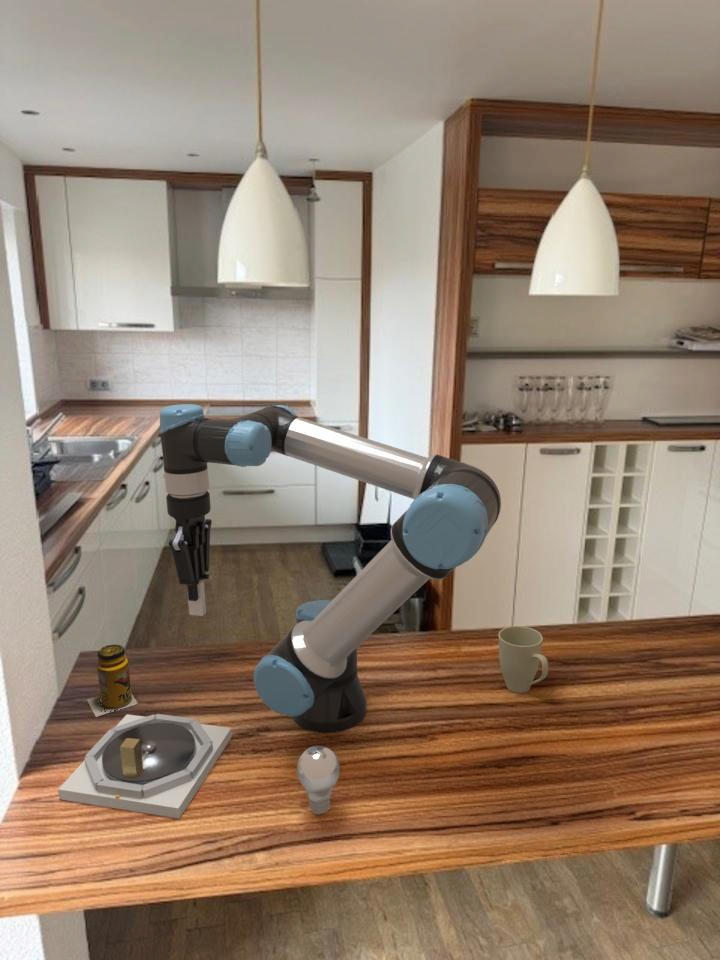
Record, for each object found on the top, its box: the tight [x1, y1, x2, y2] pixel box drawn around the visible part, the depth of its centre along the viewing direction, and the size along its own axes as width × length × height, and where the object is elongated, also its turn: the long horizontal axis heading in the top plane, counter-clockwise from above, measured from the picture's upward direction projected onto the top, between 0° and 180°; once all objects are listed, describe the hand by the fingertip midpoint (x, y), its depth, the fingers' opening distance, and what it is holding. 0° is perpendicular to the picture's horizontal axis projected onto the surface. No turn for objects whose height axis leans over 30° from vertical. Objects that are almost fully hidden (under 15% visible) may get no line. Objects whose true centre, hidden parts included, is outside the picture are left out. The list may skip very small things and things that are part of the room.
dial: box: [102, 723, 196, 785], centre depth 127 cm, size 16×16×7 cm
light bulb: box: [296, 744, 341, 816], centre depth 115 cm, size 7×7×12 cm
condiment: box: [86, 644, 139, 718], centre depth 147 cm, size 7×8×12 cm
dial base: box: [57, 713, 233, 819], centre depth 128 cm, size 22×22×4 cm
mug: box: [498, 625, 549, 694], centre depth 150 cm, size 11×10×12 cm
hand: (197, 613), depth 133 cm, fingers closed
